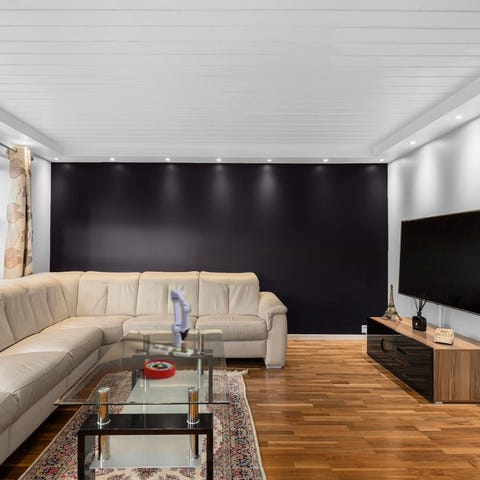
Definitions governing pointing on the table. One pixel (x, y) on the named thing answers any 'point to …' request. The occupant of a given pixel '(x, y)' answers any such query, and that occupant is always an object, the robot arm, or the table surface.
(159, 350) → the socket block
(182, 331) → the robot arm
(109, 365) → the table surface
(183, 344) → the peg
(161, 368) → the toy clock
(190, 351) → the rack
